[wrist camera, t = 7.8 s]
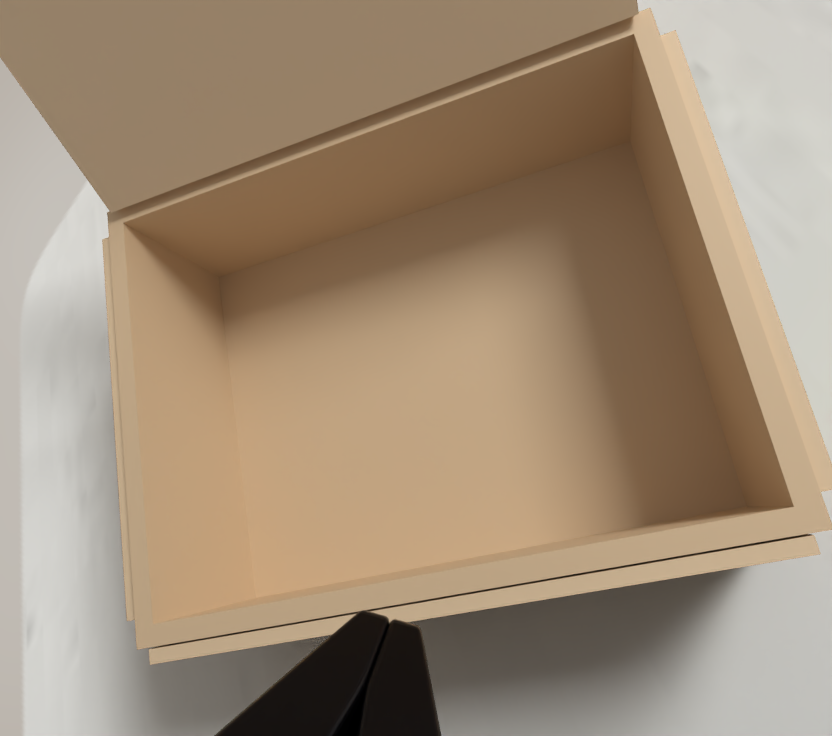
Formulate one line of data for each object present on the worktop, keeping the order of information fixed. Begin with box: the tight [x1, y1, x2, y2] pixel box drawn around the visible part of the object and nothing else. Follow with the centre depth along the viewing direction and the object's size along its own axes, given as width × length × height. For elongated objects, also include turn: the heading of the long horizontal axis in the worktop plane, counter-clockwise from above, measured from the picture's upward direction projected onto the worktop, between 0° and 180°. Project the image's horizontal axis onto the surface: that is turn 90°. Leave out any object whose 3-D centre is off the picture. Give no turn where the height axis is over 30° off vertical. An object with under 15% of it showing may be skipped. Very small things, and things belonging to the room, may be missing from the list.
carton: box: [102, 8, 832, 665], centre depth 20 cm, size 14×19×6 cm
